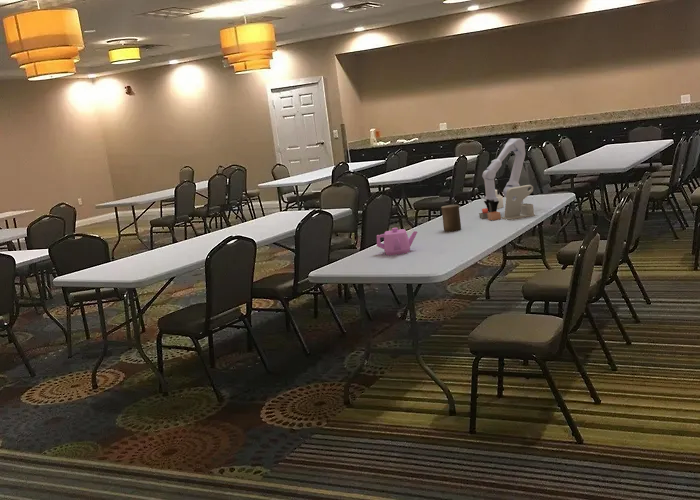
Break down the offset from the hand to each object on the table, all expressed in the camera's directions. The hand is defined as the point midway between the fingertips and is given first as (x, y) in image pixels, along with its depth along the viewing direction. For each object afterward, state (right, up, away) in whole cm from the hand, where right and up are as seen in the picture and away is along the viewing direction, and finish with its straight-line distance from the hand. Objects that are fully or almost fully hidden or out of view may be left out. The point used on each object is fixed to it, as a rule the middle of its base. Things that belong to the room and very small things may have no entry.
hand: (492, 212), depth 435 cm
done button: (-5, -1, -5) cm, 7 cm away
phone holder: (+12, -4, -16) cm, 20 cm away
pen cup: (-2, -5, -14) cm, 15 cm away
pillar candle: (-28, -12, -30) cm, 42 cm away
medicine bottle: (+8, +4, +28) cm, 30 cm away
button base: (-5, -3, -4) cm, 7 cm away
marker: (0, -2, 0) cm, 2 cm away
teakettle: (-61, -24, -71) cm, 96 cm away
